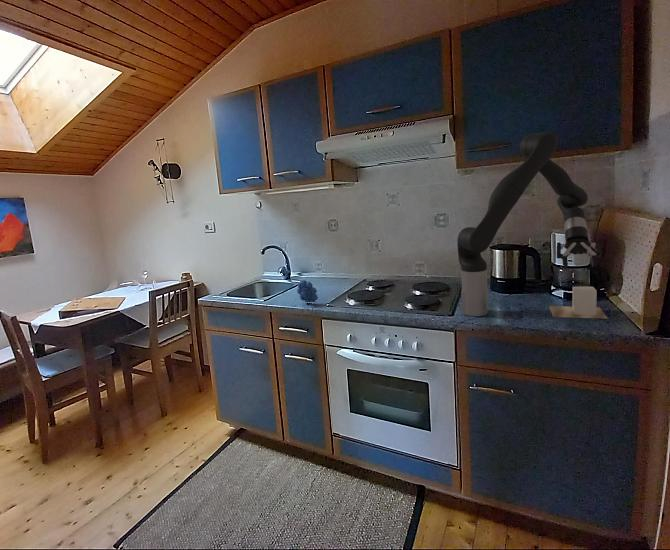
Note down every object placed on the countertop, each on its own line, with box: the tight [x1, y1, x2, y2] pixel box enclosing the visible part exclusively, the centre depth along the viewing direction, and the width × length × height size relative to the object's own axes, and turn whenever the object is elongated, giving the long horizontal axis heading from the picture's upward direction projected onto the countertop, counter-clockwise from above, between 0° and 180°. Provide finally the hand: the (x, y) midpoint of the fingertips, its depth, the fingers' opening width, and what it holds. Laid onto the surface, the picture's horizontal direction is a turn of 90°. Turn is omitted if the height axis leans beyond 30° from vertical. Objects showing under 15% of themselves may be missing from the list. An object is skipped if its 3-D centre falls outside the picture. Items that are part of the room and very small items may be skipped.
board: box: [549, 305, 609, 319], centre depth 137 cm, size 16×13×1 cm
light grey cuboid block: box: [571, 286, 598, 315], centre depth 135 cm, size 6×6×8 cm
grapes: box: [296, 279, 319, 303], centre depth 185 cm, size 12×7×12 cm, turn 58°
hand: (579, 266), depth 142 cm, fingers open, 8 cm apart
